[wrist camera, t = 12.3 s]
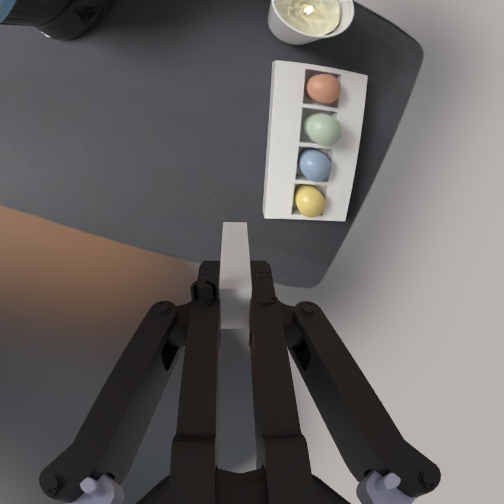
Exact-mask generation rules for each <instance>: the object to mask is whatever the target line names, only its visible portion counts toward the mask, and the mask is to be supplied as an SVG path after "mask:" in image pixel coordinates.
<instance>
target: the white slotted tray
mask: <svg viewBox="0 0 504 504" xmlns="http://www.w3.org/2000/svg"><path fill="white" fill-rule="evenodd" d="M319 74H329V75H332V76H333V77H335V78H336V79H337V80H338V82H339V83H340V86H341V93H340V96H339V98H338V99H337V100H336V101H334V102H332V103H321V102H316V101H313V100H311V99H309V98H308V97H307V96H306V94H305V92H304V82H305V81H306V79H307V78H308V77H310V76H313V75H319ZM367 78H368V76H367V75H363V74H359V73H355V72H350V71H345V70H340V69H335V68H330V67H324V66H318V65H312V64H305V63H297V62H288V61H278V60H275V61H274V62H272V78H271V94H270V110H269V125H268V140H267V154H266V169H265V183H264V197H263V214H264V218H271V219H302V220H327V221H345V220H346V215H347V211H348V206H349V201H350V196H351V191H352V185H353V180H354V174H355V169H356V163H357V157H358V151H359V144H360V137H361V130H362V123H363V115H364V107H365V98H366V89H367ZM315 112H320V113H323V114H326V115H329V116H332V117H334V118H335V119H337V120H338V122H339V123H340V125H341V128H342V134H341V137H340V139H339V141H338V142H337V143H335V144H334V145H332V146H321V145H319V144H317V143H316V142H315V141H313V140H312V139H311V138H309V137H308V136H307V135H306V133H305V132H304V128H303V124H304V121H305V119H306V117H307V116H308V115H310V114H312V113H315ZM308 147H313V148H316V149H318V150H319V151H320V152H321V153H323V154H324V155H325V156H326V157H327V158H328V159H329V160H330V162H331V167H332V168H331V172H330V175H329V176H328V177H327V178H326V179H325V180H323V181H320V182H313V181H310V180H309V179H307V178H306V176H305V175H304V174H303V172H302V171H301V170H300V168H299V167H298V165H297V159H298V154H299V153H300V151H301V150H303V149H305V148H308ZM299 184H312V185H315V186H316V187H317V189H318V190H319V191H320V193H321V194H322V195H323V197H324V198H325V201H326V206H325V209H324V211H323V212H322V213H321V214H320V215H319V216H317V217H313V218H308V217H305V216H303V215H302V214H301V213H300V211H299V209H298V207H297V205H296V203H295V201H294V198H293V195H294V189H295V188H296V186H297V185H299Z"/></svg>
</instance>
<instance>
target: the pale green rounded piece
mask: <svg viewBox="0 0 504 504" xmlns="http://www.w3.org/2000/svg"><path fill="white" fill-rule="evenodd" d="M303 128H304V132H305V133H306V135H307V136H308V137H309V138H311V139H312V140H313V141H315V142H316V143H317V144H319V145H321V146H332V145H334V144H335V143H337V142H338V141H339V139H340V137H341V134H342V128H341V125H340V123H339V122H338V120H337V119H335V118H334V117H332V116H329V115H326V114H323V113H320V112H315V113H312V114H310V115H308V116H307V117H306V119H305V121H304V124H303Z"/></svg>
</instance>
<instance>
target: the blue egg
mask: <svg viewBox="0 0 504 504" xmlns="http://www.w3.org/2000/svg"><path fill="white" fill-rule="evenodd" d="M297 165H298V167H299V168H300V170H301V171H302V172H303V174H304V175H305V176H306V178H307V179H309V180H310V181H313V182H320V181H323V180H325V179H326V178H327V177H328V176H329V175H330V172H331V168H332V167H331V162H330V160H329V159H328V158H327V157H326V156H325V155H324V154H323V153H321V152H320V151H319V150H318V149H316V148H313V147H308V148H305V149H303V150H301V151H300V153H299V154H298V159H297Z"/></svg>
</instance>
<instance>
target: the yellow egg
mask: <svg viewBox="0 0 504 504" xmlns="http://www.w3.org/2000/svg"><path fill="white" fill-rule="evenodd" d="M293 198H294V201H295V203H296V205H297V207H298V209H299V211H300V213H301V214H302V215H303V216H305V217H308V218H313V217H317V216H319V215H320V214H321V213H322V212H323V211H324V209H325V206H326V201H325V198H324V197H323V195H322V194H321V193H320V191H319V190H318V189H317V187H316V186H315V185H312V184H299V185H297V186H296V188H295V189H294V195H293Z"/></svg>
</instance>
